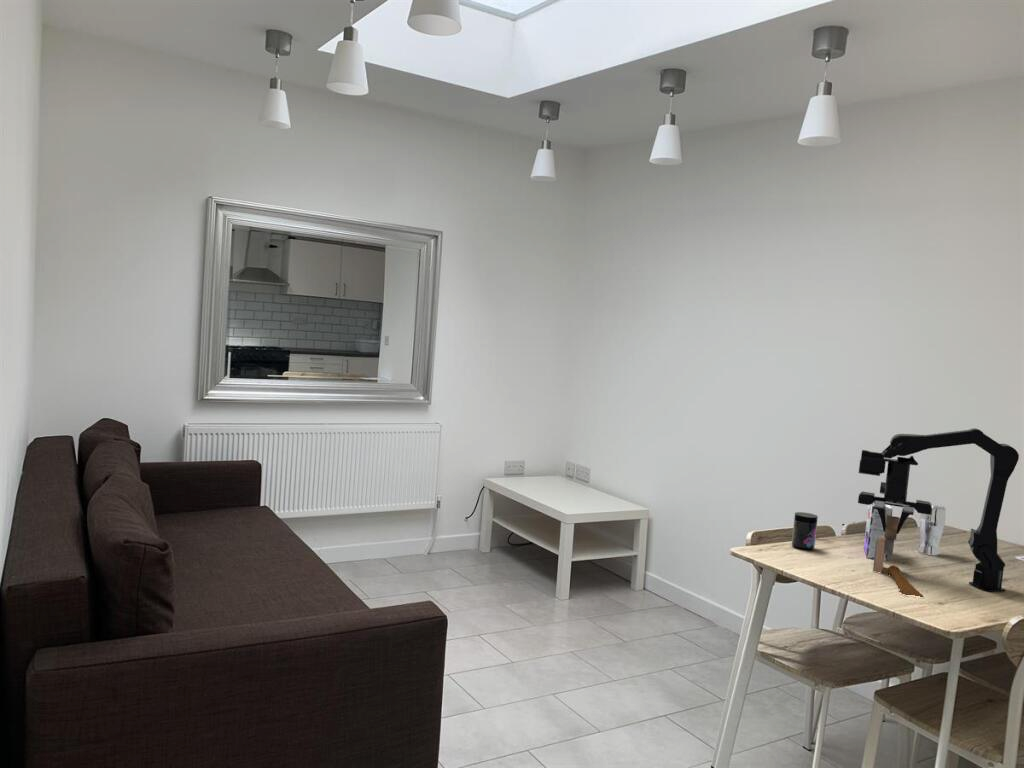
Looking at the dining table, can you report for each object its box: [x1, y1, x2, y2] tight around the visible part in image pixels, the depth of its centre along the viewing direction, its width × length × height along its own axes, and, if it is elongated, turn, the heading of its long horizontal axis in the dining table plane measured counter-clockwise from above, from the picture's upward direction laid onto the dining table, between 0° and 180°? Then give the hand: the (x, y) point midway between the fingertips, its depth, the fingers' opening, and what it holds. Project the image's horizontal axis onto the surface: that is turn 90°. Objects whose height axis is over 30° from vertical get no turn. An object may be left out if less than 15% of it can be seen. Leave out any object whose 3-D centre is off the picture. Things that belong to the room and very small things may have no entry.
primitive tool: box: [886, 565, 924, 597], centre depth 217 cm, size 19×6×4 cm, turn 173°
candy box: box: [863, 503, 893, 562], centre depth 248 cm, size 14×6×16 cm, turn 160°
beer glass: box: [917, 504, 946, 557], centre depth 255 cm, size 7×7×15 cm
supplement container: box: [791, 511, 819, 551], centre depth 249 cm, size 7×7×10 cm
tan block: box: [872, 535, 886, 574], centre depth 232 cm, size 2×8×9 cm, turn 153°
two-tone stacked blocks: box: [884, 515, 900, 556], centre depth 230 cm, size 3×9×10 cm, turn 152°
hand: (890, 532), depth 230 cm, fingers closed on two-tone stacked blocks, 3 cm apart
